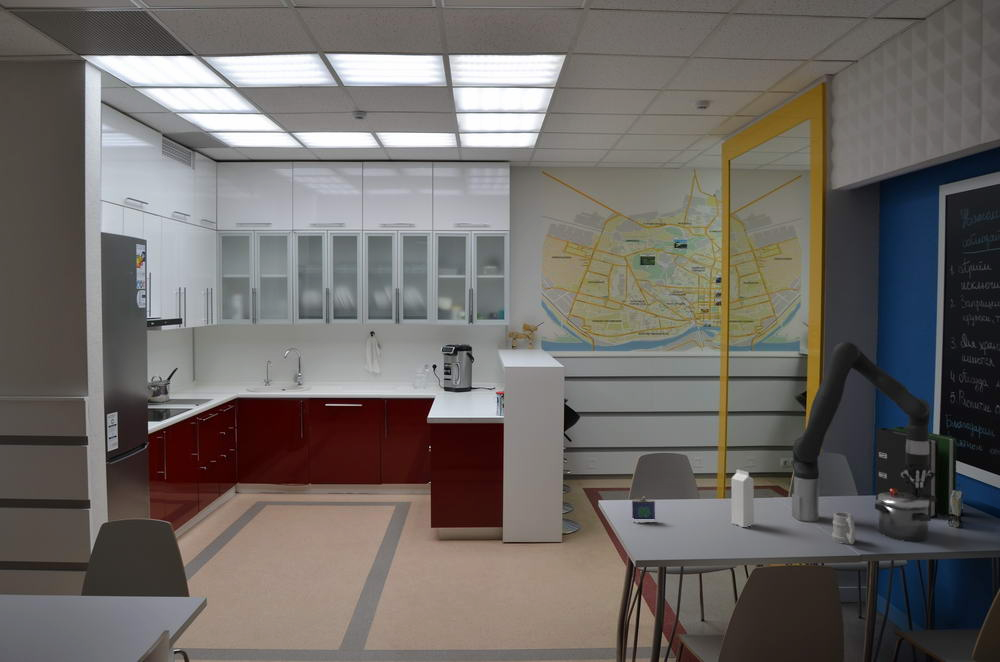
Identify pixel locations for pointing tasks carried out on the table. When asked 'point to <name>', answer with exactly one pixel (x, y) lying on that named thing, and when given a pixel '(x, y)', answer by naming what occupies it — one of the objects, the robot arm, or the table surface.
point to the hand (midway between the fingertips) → (917, 496)
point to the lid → (905, 500)
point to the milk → (742, 499)
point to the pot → (903, 523)
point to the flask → (643, 509)
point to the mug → (843, 528)
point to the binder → (894, 462)
